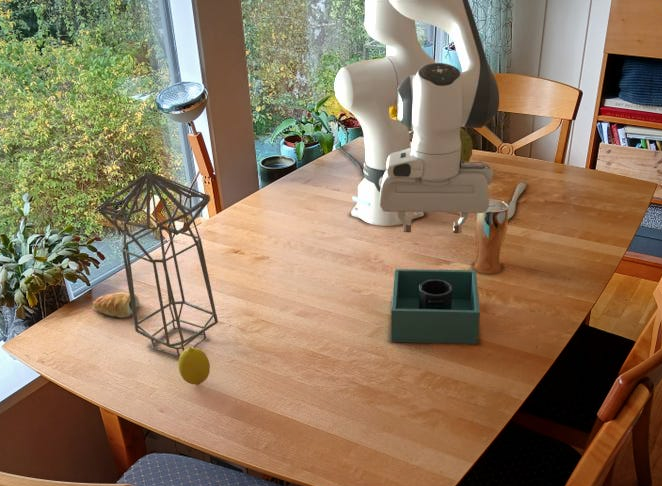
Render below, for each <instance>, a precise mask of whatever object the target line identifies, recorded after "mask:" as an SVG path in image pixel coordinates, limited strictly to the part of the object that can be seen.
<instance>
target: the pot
mask: <svg viewBox="0 0 662 486" xmlns="http://www.w3.org/2000/svg"><path fill="white" fill-rule="evenodd" d="M451 305H452V285H451V284H450V283H448V282H447V281H443V280H442V279H429V280H427V281H424V282H423V283H421V284H420V289H419V309H434V310H451Z"/></svg>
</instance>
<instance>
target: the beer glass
mask: <svg viewBox="0 0 662 486" xmlns="http://www.w3.org/2000/svg"><path fill="white" fill-rule="evenodd" d="M508 205H509V203H507V202H505V201H503V200H499V199H491V198H489V207H488V209H487V210H486V211H485V212H484V213H475V219H474V237H475V247H476V256H475V259H474V263H473V269H474V270H476V272H477V273H481V274H485V275H486V274H488V275H489V274H496V273H498V272H499V271H501V269H502V261H501V253H502V248H503V245H504V242H505V239H506V236H507V235H506V234H507V231H508V224H509V223H508V222H509V219H508Z"/></svg>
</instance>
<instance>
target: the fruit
mask: <svg viewBox="0 0 662 486" xmlns="http://www.w3.org/2000/svg"><path fill="white" fill-rule="evenodd" d="M460 140H461V156H460V162H471V161H470V160H471V158H472V156H473V148H474V147H473V140H472V137H471V136H470V134H469V133H468V132H466V130H465V128H463V127H461V129H460Z"/></svg>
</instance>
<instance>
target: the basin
mask: <svg viewBox="0 0 662 486" xmlns="http://www.w3.org/2000/svg"><path fill="white" fill-rule="evenodd" d="M393 274H394V275H393V287H392V297H391V298H392V299H391V309H390V314H391V315H390V342H391V343H392V342H395V343H396V342H397V343H424V344H425V343H427V344H428V343H429V344H430V343H431V344H461V345H462V344H466V345H469V344H470V345H473V344H474V345H477V344H478V339H479V330H480V329H479V328H480V316H481V310H480V309H481V308H480V298H479V289H478V288H479V287H478V279H477V271H476V270H475V269H474V270H473V269H472V270H471V269H469V270H467V269H414V268H413V269H409V268H408V269H407V268H394V273H393ZM429 279H442V280H443V281H447V282H448V283H450V284H451V285H452V305H451V310H434V309H419V289H420V284H421V283H423V282H424V281H427V280H429Z"/></svg>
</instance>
